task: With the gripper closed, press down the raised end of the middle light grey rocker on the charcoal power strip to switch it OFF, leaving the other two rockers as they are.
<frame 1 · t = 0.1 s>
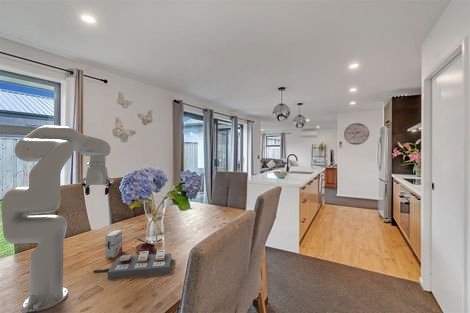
hand: (97, 194, 124), 31 cm above the table, tool pointing down, fingers open, 9 cm apart
rocker 3: (125, 257, 105), point 5 cm above the table, hinge at 12.0°
ink box: (113, 254, 118), on the table
rocker 1: (160, 254, 108), point 5 cm above the table, hinge at -12.0°
dark red apple: (145, 251, 123), on the table
power strip: (142, 268, 105), on the table
rocker 2: (143, 256, 106), point 5 cm above the table, hinge at -12.0°
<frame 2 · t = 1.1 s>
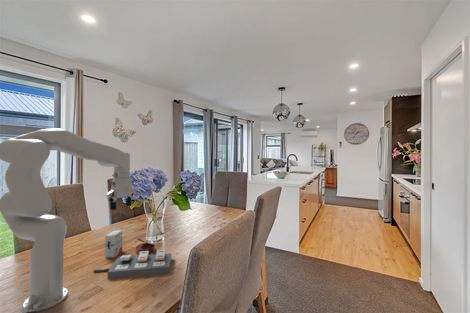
hand: (121, 207, 116), 26 cm above the table, tool pointing down, fingers open, 9 cm apart
nothing on the table moved.
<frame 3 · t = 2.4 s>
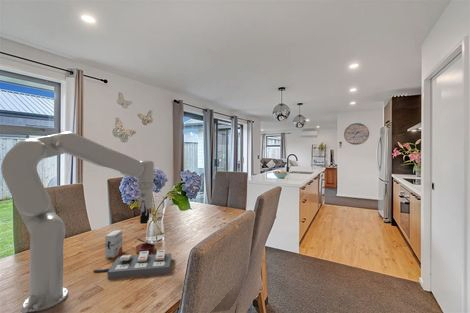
hand: (144, 221, 108), 21 cm above the table, tool pointing down, fingers open, 4 cm apart
nothing on the table moved.
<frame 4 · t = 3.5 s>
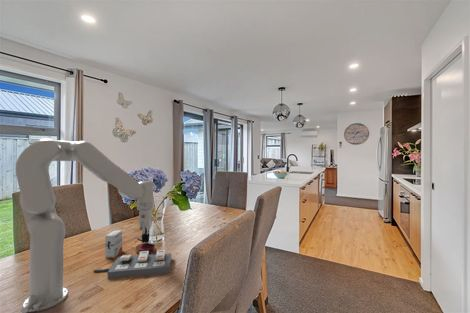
hand: (145, 241, 109), 11 cm above the table, tool pointing down, fingers closed
nothing on the table moved.
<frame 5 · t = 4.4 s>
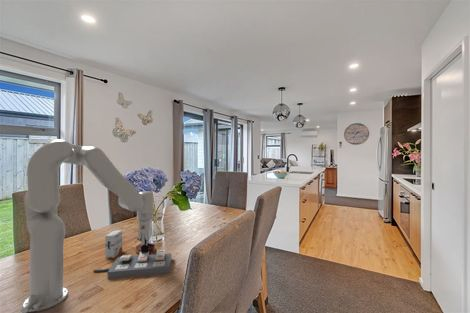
hand: (144, 252, 109), 6 cm above the table, tool pointing down, fingers closed
rocker 2: (143, 256, 106), point 5 cm above the table, hinge at -11.9°, touching gripper
everything else where it was.
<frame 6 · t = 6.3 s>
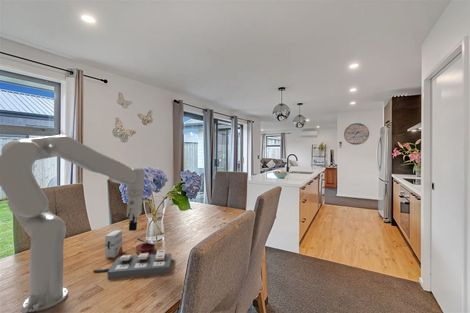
hand: (132, 230, 107), 17 cm above the table, tool pointing down, fingers closed
rocker 2: (143, 256, 106), point 5 cm above the table, hinge at 8.9°
everything else where it was.
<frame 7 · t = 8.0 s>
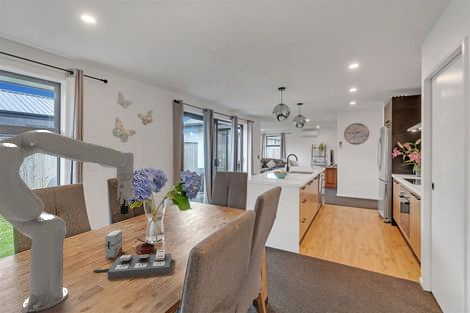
hand: (124, 213, 108), 25 cm above the table, tool pointing down, fingers closed
rocker 2: (143, 256, 106), point 5 cm above the table, hinge at 22.2°, touching power strip
everything else where it was.
at the end: rocker 2 at +23° (first picture: -12°); rocker 1 at -12° (first picture: -12°); rocker 3 at +12° (first picture: +12°) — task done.
